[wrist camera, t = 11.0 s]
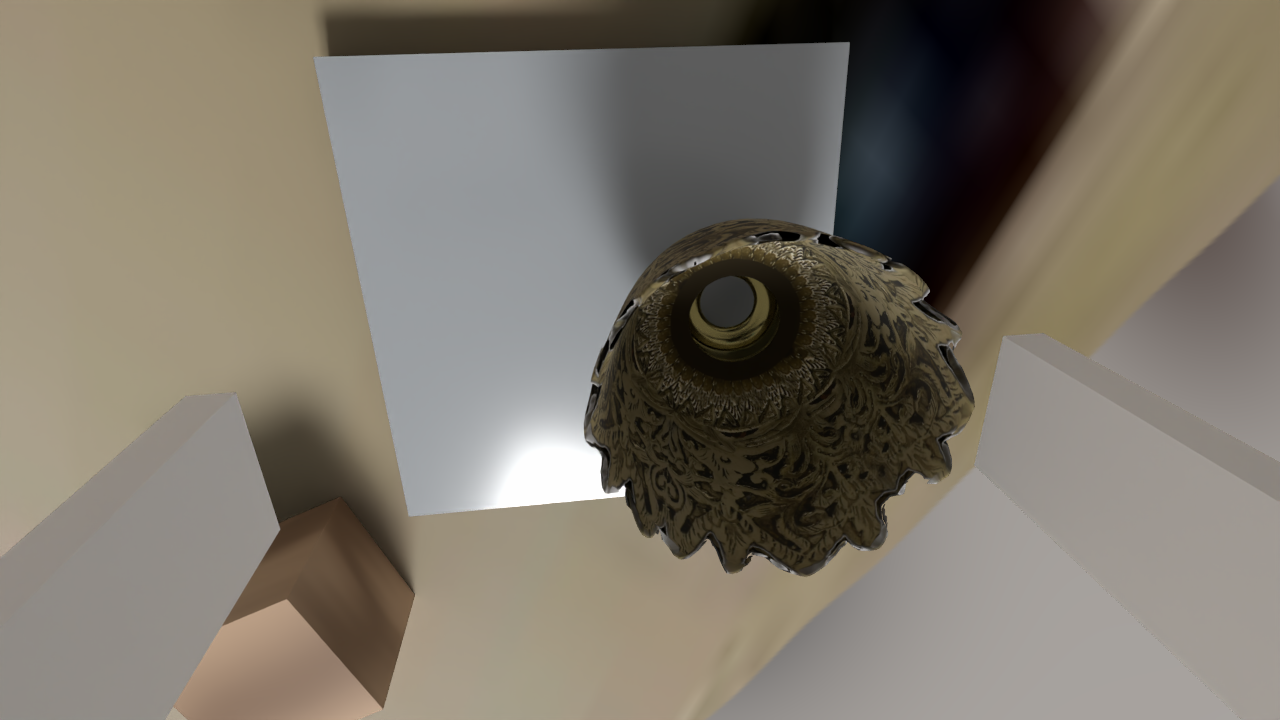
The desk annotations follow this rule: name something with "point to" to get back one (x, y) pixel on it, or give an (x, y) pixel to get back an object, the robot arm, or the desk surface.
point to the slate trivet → (551, 229)
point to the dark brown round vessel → (775, 396)
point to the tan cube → (307, 629)
